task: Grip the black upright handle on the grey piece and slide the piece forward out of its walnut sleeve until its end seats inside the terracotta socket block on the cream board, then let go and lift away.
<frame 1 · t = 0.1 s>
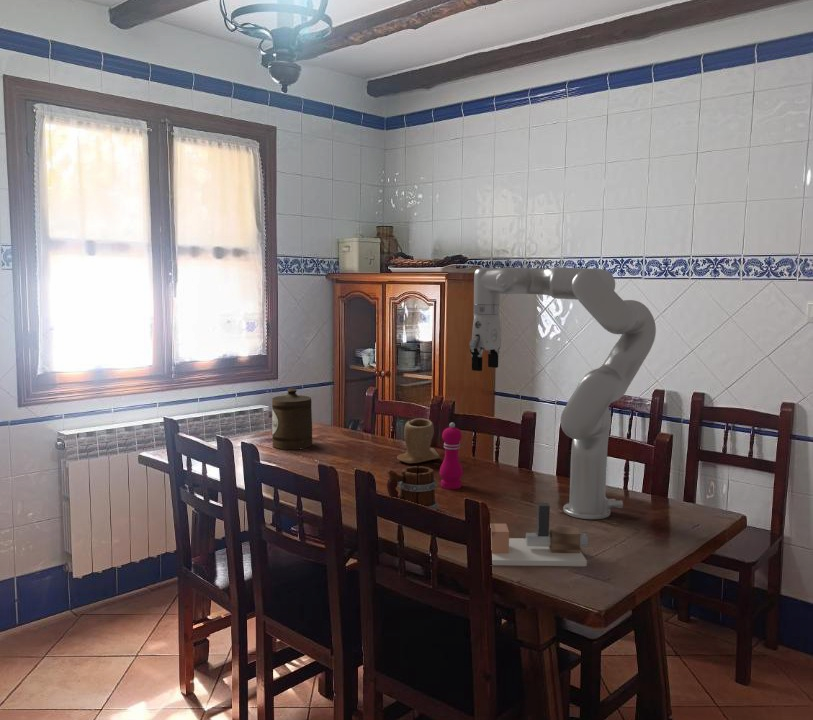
hand: (485, 368, 219), 37 cm above the table, tool pointing down, fingers open, 9 cm apart
terracotta socket: (498, 538, 173), on the cream board, point 4 cm above the table
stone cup: (420, 462, 258), on the table
grey piece: (557, 524, 173), point 7 cm above the table, slide at 0.0 cm
walnut sleeve: (564, 539, 173), on the cream board, point 4 cm above the table
wooden container: (292, 446, 280), on the table
cream board: (532, 554, 174), on the table
pepper mill: (451, 487, 228), on the table
mug: (412, 513, 203), on the table
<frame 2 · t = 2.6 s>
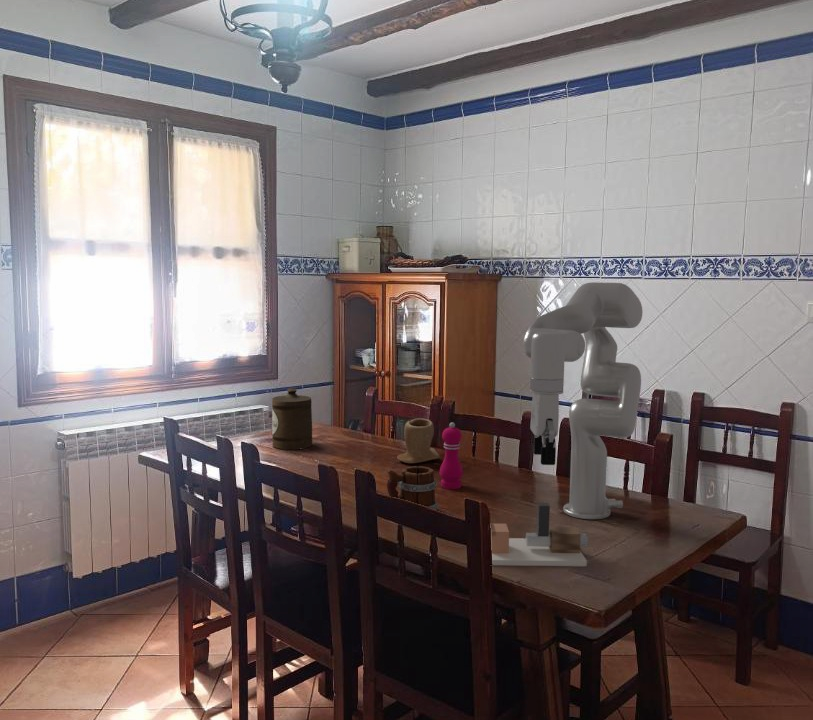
hand: (544, 459, 171), 23 cm above the table, tool pointing down, fingers open, 9 cm apart
nothing on the table moved.
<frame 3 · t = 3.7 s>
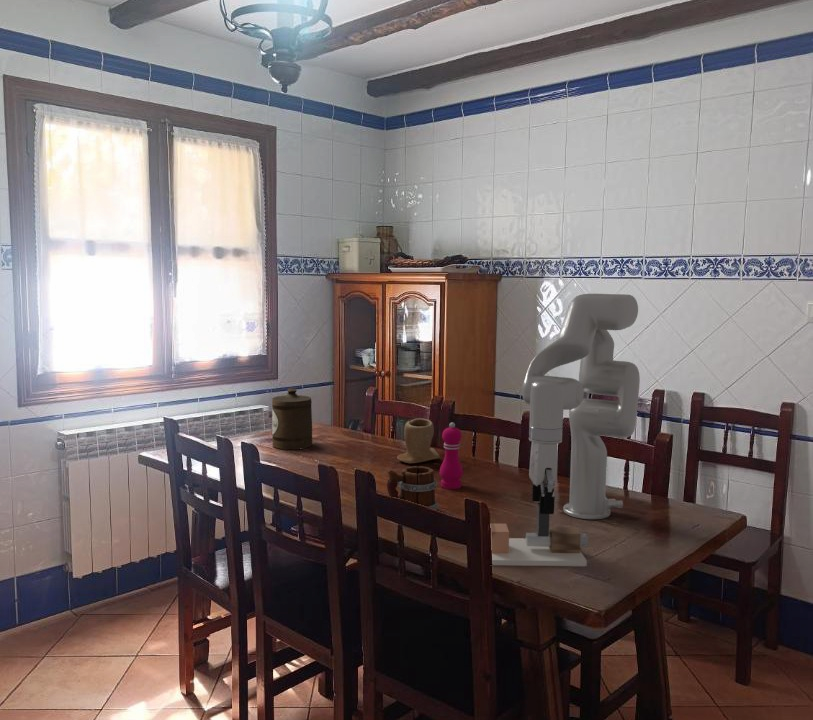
hand: (542, 507, 172), 11 cm above the table, tool pointing down, fingers open, 9 cm apart
nothing on the table moved.
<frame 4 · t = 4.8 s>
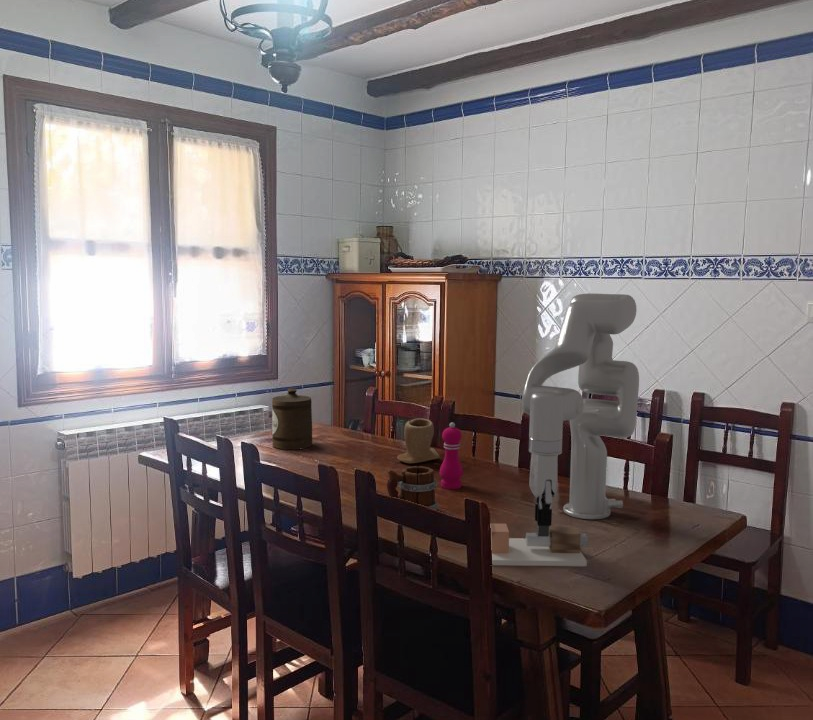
hand: (542, 522, 173), 8 cm above the table, tool pointing down, fingers closed on grey piece, 2 cm apart
grey piece: (557, 524, 173), point 7 cm above the table, slide at 0.0 cm, touching gripper
everything else where it was.
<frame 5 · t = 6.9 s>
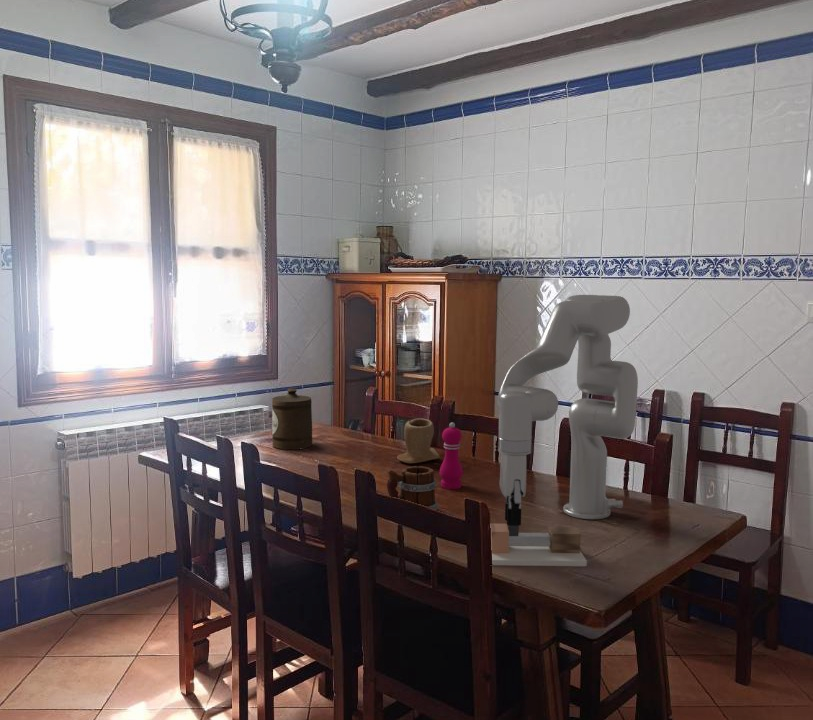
hand: (512, 522, 173), 8 cm above the table, tool pointing down, fingers closed on grey piece, 2 cm apart
grey piece: (526, 524, 173), point 7 cm above the table, slide at 7.0 cm, touching gripper, terracotta socket
everything else where it was.
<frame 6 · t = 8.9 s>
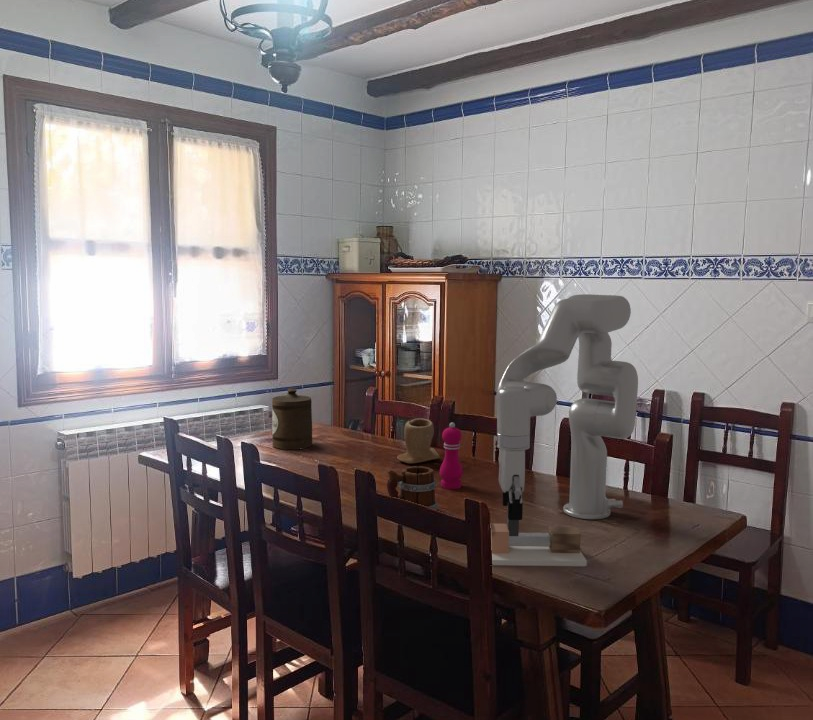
hand: (512, 512, 173), 10 cm above the table, tool pointing down, fingers open, 9 cm apart
grey piece: (527, 524, 173), point 7 cm above the table, slide at 7.0 cm
everything else where it was.
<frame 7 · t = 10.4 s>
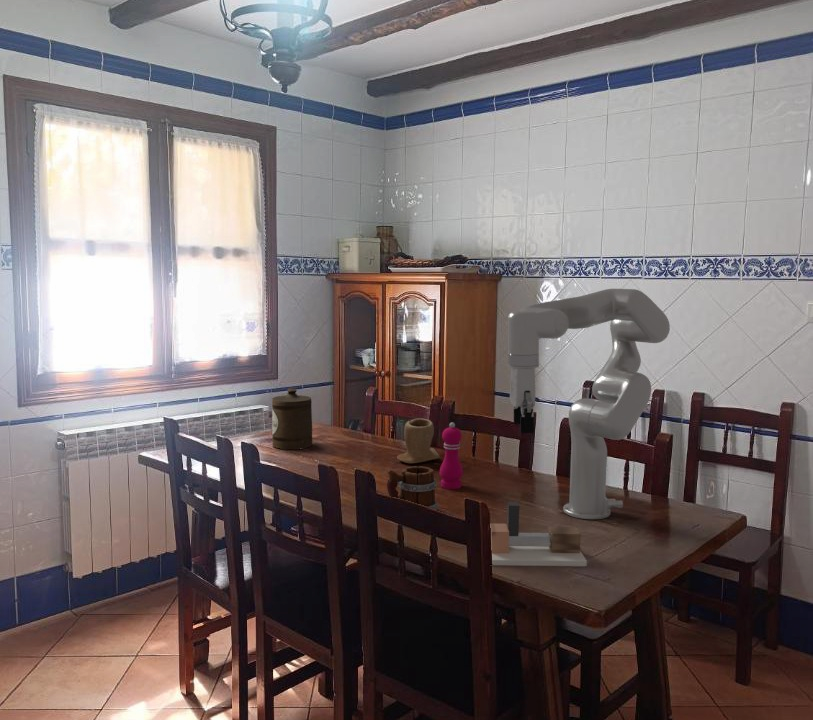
hand: (523, 428, 186), 27 cm above the table, tool pointing down, fingers open, 9 cm apart
nothing on the table moved.
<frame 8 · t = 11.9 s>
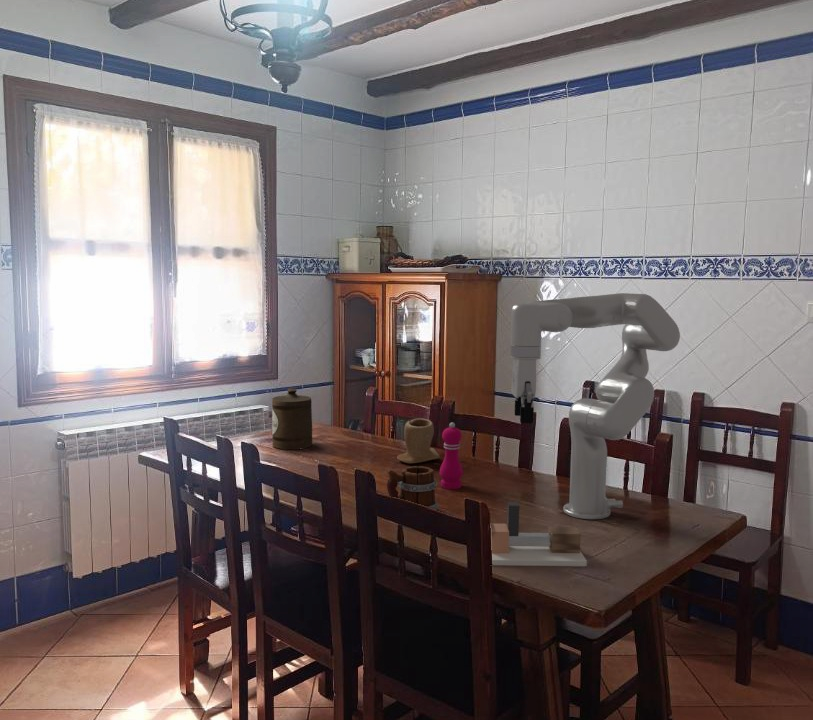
hand: (523, 419, 189), 28 cm above the table, tool pointing down, fingers open, 9 cm apart
nothing on the table moved.
at the end: grey piece slide at 7.0 cm; the gripper is holding nothing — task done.
